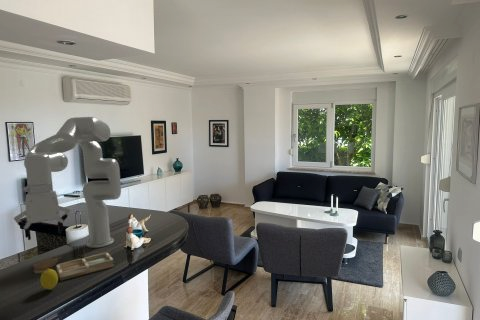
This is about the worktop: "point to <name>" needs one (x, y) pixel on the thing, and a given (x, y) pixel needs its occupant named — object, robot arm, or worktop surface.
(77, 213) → the worktop surface
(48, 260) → the pottery shard
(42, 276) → the lemon
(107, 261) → the tray
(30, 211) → the robot arm
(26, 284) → the worktop surface
